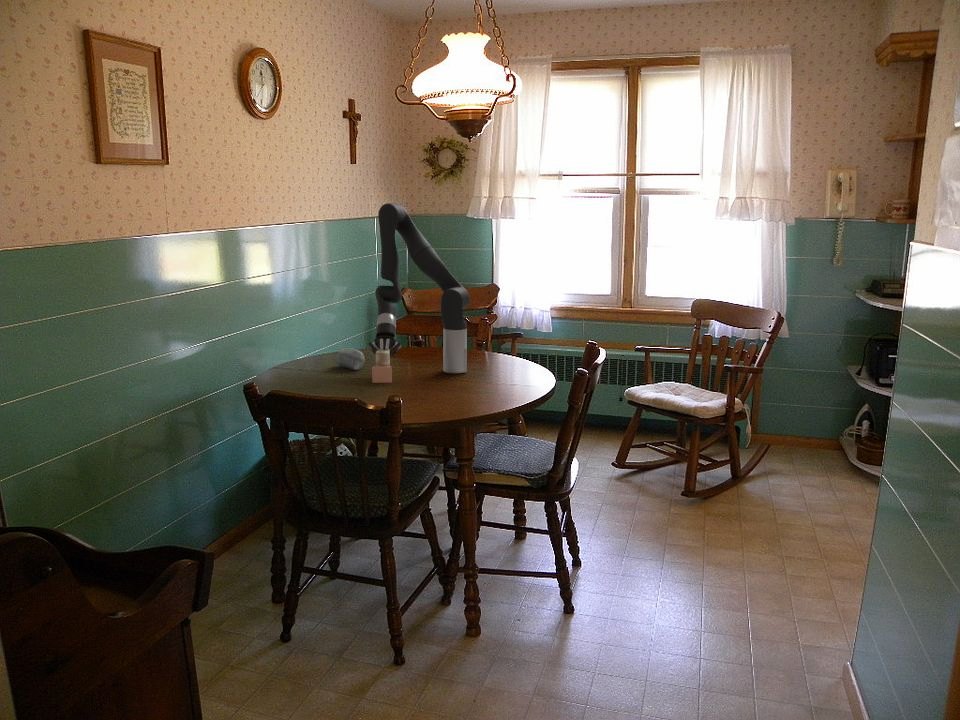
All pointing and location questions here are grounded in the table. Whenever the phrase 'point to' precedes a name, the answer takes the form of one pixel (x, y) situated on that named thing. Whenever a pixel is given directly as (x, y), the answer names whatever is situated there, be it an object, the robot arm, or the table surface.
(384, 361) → the keeper
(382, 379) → the block
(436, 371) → the table surface
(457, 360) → the robot arm
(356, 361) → the grey rounded lump
